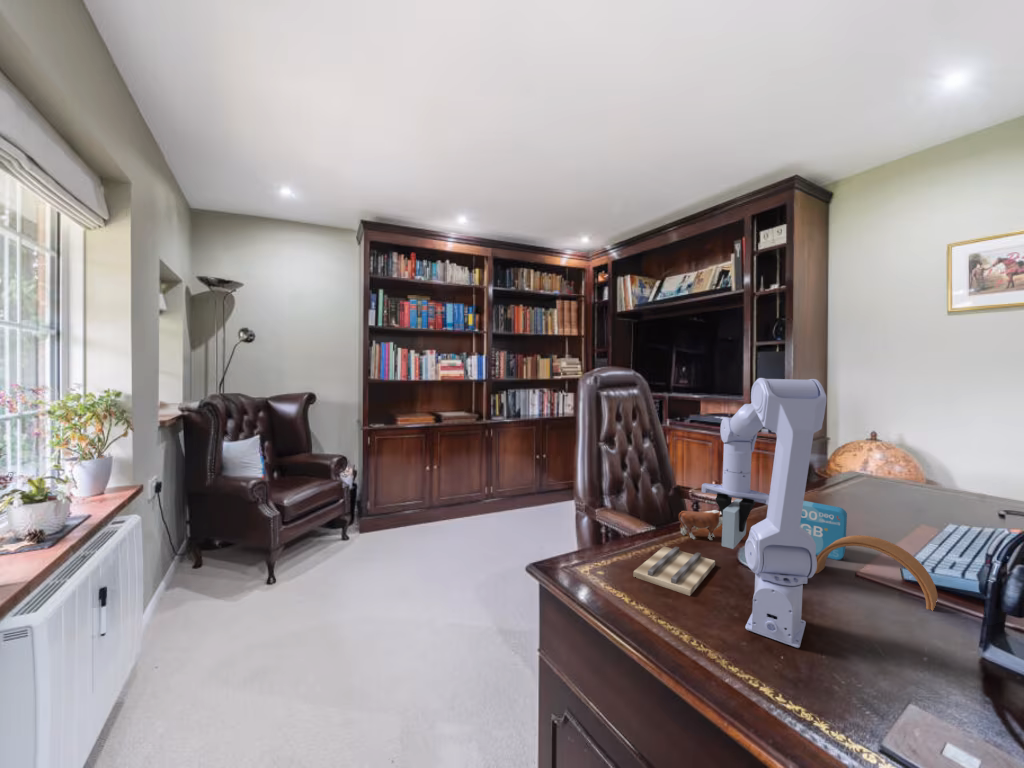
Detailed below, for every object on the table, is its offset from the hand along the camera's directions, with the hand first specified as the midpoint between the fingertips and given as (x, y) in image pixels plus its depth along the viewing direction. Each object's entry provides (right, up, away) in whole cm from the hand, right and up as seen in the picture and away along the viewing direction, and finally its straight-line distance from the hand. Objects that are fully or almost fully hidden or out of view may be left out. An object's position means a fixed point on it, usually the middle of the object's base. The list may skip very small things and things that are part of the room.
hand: (734, 529), depth 100 cm
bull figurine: (+1, -9, +18) cm, 20 cm away
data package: (+26, -9, +10) cm, 29 cm away
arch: (+25, -10, -7) cm, 28 cm away
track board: (-14, -9, -2) cm, 17 cm away
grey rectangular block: (0, -3, 0) cm, 3 cm away
